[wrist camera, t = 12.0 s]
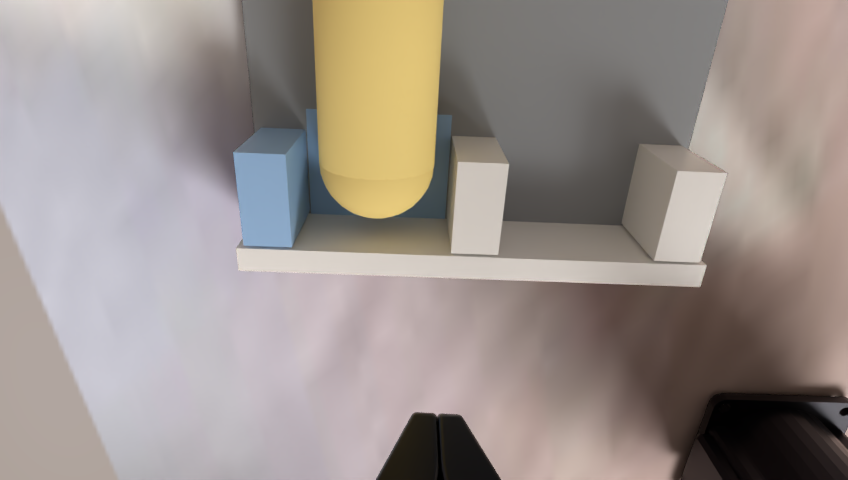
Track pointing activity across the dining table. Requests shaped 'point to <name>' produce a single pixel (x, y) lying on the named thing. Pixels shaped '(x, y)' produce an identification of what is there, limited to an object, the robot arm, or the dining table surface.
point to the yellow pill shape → (377, 100)
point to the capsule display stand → (503, 148)
